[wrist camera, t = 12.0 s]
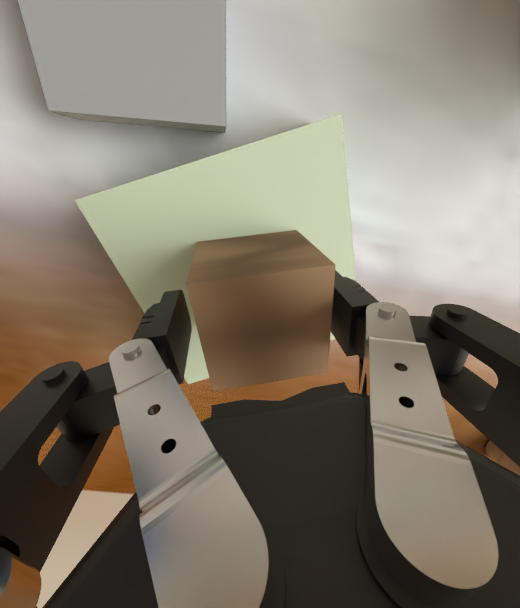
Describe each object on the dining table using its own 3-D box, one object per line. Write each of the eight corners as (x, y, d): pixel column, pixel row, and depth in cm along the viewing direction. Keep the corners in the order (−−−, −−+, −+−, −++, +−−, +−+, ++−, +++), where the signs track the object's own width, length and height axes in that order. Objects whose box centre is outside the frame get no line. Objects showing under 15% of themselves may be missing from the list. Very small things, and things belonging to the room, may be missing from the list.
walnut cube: (296, 230, 13) (335, 264, 9) (297, 313, 15) (327, 372, 11) (197, 241, 12) (185, 284, 8) (214, 324, 15) (212, 391, 11)
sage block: (312, 125, 14) (341, 113, 11) (336, 302, 20) (360, 331, 17) (109, 190, 14) (74, 200, 11) (193, 346, 20) (188, 384, 17)
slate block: (224, -75, 10) (225, -155, 8) (225, 132, 14) (226, 126, 11) (30, -115, 9) (-45, -222, 7) (83, 120, 13) (48, 110, 10)
